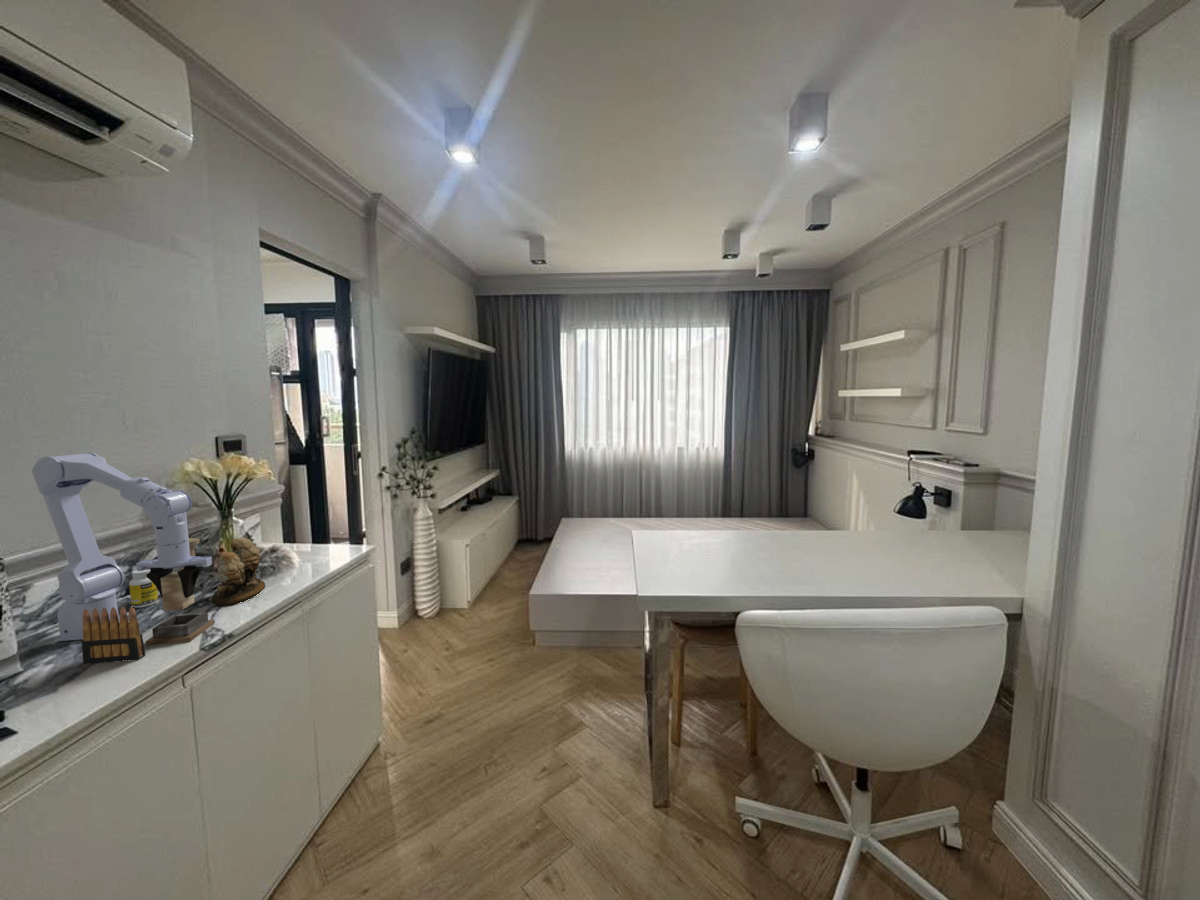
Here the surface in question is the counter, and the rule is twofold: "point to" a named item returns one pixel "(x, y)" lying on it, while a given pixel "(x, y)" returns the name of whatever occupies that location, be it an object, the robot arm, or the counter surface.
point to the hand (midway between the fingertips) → (178, 596)
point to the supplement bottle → (142, 590)
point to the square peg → (174, 593)
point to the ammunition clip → (111, 637)
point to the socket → (180, 628)
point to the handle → (192, 546)
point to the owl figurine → (238, 574)
